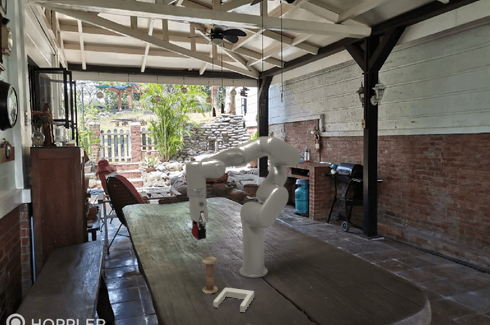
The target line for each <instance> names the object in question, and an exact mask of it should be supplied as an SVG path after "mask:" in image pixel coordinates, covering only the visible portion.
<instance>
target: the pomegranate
mask: <svg viewBox="0 0 490 325" xmlns="http://www.w3.org/2000/svg"><path fill="white" fill-rule="evenodd" d="M200 224H202V223H200ZM197 229H198V224H197V223H196V224H195V225H194V226H193V228H192V227H191V235H192V236H193V238H194V239H196V240H197V241H200V240H202V239H200V240H199V239H198V231H197Z"/></svg>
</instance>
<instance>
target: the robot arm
mask: <svg viewBox="0 0 490 325" xmlns="http://www.w3.org/2000/svg"><path fill="white" fill-rule="evenodd" d="M301 156H302V154H301V151H300V150H299V149H298V148H297V147H296V146H294V145H292V144H291V143H288V142H286V141H285V140H282V139H280V138H279V137H276V136H259V137H256V138H254V139H251V140H249V141H247V142H244V143H242V144H239V145H236V146H234V147H231V148H230V147H229V148H228V149H225V150H222V151H219V152H215V153H213V154H210V155H208V156H206V157H203V158H201V160H191V161H187V162H186V163H185V178H186V179H185V180H186V194H187V195H186V196H187V198H189V199H188V202H189V205H188V206H189V208H188V209H189V217H190V219H191V224H192V225H191V229H192V228H193V226H194V225H195V224H196V223H197V224H198V229H197V231H198V239H199V240H198V241H200V239H201V240H204V239H207V226H206V225H207V222H208V221H209V211H208V202H207V182H206V179H218V178H221V177H223V176H224V174H226V169H227V168H231V167H240V166H245V165H248V164H250V163H251V162H254V161H256V160H258V159H261V158H263V157H269V163H270V170H269V173H268V174H267V176H266V177H265V178H264V180H263V181H262V182H261V184H260V185H259V187H258V188H257V190H256V193H255V198H256V200H258V201H259V202H257V201H247V202H245V203H243V205H242V206H241V207H240V211H239V215H240V222H241V228H242V229H241V230H242V231H241V232H242V234H241V235H242V266H241V267H240V268H239V269H238V270H239V275H241V276H243V277H245V278H261V277H265V276H266V275H267V274H268V268H267V267H265V231H264V229H268V228H270V227H271V226H273V224H275V222H276V220H277V219H278V217H279V216H280V214H281V213H282V212H283V210H284V208H285V207H286V206H287V203H288V201H289V191H288V189H287V188H286V187H285V184H286V183H287V180H288V169H287V166H288V167H295V166H297V165H298V164H299V163H300V162H301V158H302V157H301ZM200 223H202V224H200Z"/></svg>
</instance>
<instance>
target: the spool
mask: <svg viewBox="0 0 490 325" xmlns="http://www.w3.org/2000/svg"><path fill="white" fill-rule="evenodd" d="M201 261H202V264H205V286H204V287H202V290H201V292H202V291H203V292H205V293H214V292H217V291H219V290H218V289H219V288H218V287H217V286H215V285H214V284H215V283H214V281H215V280H214V279H215V278H214V277H215V276H214V271H215V270H214V264H216V263H217V261H218V260H217V257H215V256H205V257H203V258H201ZM217 293H218V292H217Z"/></svg>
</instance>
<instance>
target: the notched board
mask: <svg viewBox="0 0 490 325" xmlns="http://www.w3.org/2000/svg"><path fill="white" fill-rule="evenodd" d="M226 296H227V297H233V298H238V299H237V300H240V299H244V300H242V302H241V304H240V305H239V313H240V312H245V313H246V311H247V310H246V309H248V308H249V307H250V305H249V304H251V303H252V302H251V301H253V300H254V299H255V291H254V290H250V289H249V290H247V289H241V288H240V289H238V288H235V287H234V288H233V287H224V288H223V290H222V291H221V292H220V293H219V295H217V296H216V298H215V299H214V300H213V303H212V305H213V306H215V307H218V305H219V304H220V303H221V302H222V301H223V300H224V299H225V297H226ZM233 298H232V299H233ZM253 298H254V299H253ZM225 300H226V299H225ZM225 300H224V301H225ZM224 301H223V302H224ZM223 302H222V303H223ZM213 306H212V307H213ZM247 307H248V308H247ZM218 308H219V307H218ZM245 310H246V311H245Z"/></svg>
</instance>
